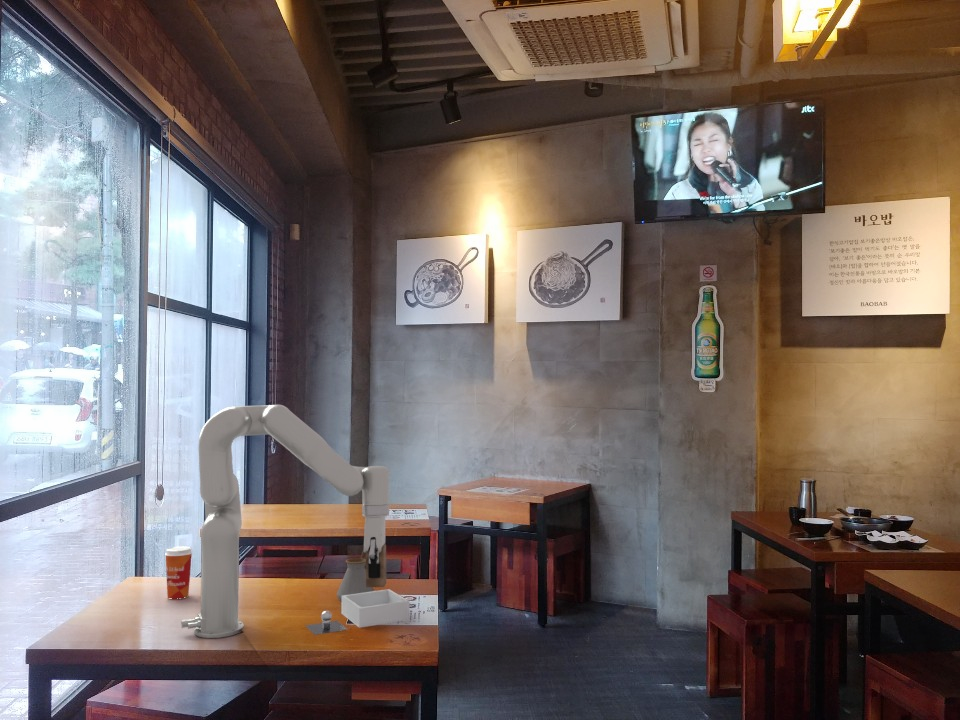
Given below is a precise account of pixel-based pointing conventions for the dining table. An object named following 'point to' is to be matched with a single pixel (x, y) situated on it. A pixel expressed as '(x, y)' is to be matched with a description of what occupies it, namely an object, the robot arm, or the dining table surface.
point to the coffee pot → (354, 578)
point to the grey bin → (375, 608)
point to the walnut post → (382, 560)
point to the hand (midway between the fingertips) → (375, 574)
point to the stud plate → (322, 631)
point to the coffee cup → (178, 571)
